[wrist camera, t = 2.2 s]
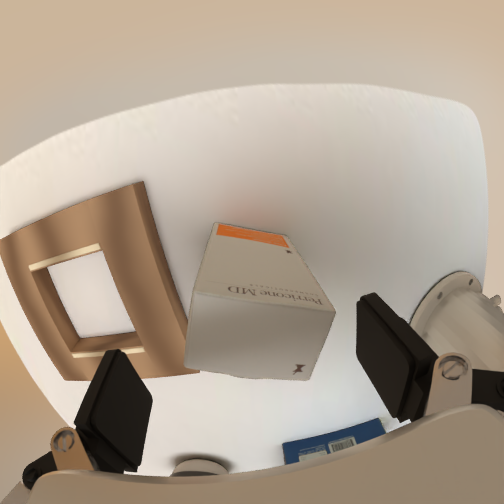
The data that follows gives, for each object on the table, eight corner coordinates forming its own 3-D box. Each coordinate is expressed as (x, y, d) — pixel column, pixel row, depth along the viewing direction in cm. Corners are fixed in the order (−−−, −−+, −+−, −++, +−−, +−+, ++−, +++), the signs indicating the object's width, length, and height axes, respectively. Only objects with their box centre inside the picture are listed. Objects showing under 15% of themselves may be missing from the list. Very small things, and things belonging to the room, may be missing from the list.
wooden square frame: (143, 181, 20) (131, 184, 17) (201, 355, 25) (199, 373, 23) (10, 234, 20) (-5, 242, 17) (72, 367, 25) (64, 380, 23)
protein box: (369, 446, 36) (396, 511, 21) (285, 468, 35) (298, 541, 21) (380, 416, 32) (417, 493, 18) (280, 442, 32) (297, 533, 17)
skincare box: (287, 233, 22) (342, 311, 11) (275, 281, 23) (310, 384, 12) (212, 219, 21) (190, 290, 10) (203, 269, 22) (182, 372, 11)
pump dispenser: (170, 447, 31) (161, 532, 17) (239, 456, 33) (245, 540, 18) (168, 470, 34) (161, 540, 20) (226, 478, 36) (229, 547, 21)
